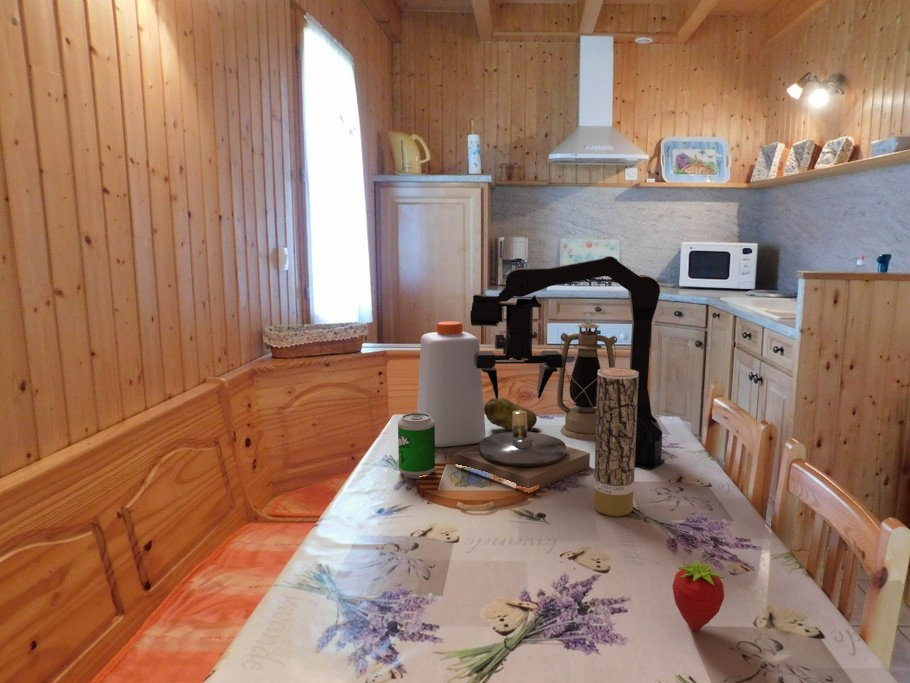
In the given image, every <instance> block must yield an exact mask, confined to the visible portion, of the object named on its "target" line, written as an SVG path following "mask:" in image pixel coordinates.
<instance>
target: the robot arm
mask: <svg viewBox="0 0 910 683" xmlns="http://www.w3.org/2000/svg"><path fill="white" fill-rule="evenodd" d="M601 277H608V278H609V279H611V280H613V281H614V282H615V283H617V284H618V285H620V286H621V287H623V288H624V289H625V290H627V292H628V293H627V294H628V300H629V306H630V314H631V320H632V321H631V337H630V338H631V339H630V352H629V354H630V355H629V369H632V370H635V371H637V372H638V375H639V378H638V401H637V425H636V449H635V467H639V468H642V469H646V470H653V469H655V468H656V467H658V466H661V465H663V464H665V463H666V462H665V461H666V460H665V459H664V458H662V452H663V451H662V450H663V431H662V428H661V425H660V424H659V421H658V419H656V418H655V417H654V416H653V415H652V407H651V406H652V405H651V400H650V394H649V389H648V388H649V387H648V386H649V372H650V356H651V355H650V354H651V353H650V352H651V341H652V340H651V339H652V338H651V337H652V323H653V319H654V316H655V313H656V311H657V306H658V303H659V299H660V295H661V288H660V287H661V286H660V284H659V282H658V281H657V280H656V279H655V278H652V277H651V276H649V275H645V274H637V273H636V272H634V271H632V270H631V269H630V268H628V267H627V266H625V265H624V264H622V263H621V262H619V260H618V259H617V258H616V257H614V256H612V255H611V256H610V255H606V256H604V257H603V258H596V259H592V260H586V261H581V262H575V263H570V264H563V265H559V266H554V267H520V268H519V267H518V268H516V269H514V270H512V271H511V272H509V274H508V275H507V277H506V279H505V287H504V288H503V289H502V290H501V291H499V293H498V295H484V294H478V293H477V294H473V296H472V304H471V310H470V312H469V313H470V324H471V327H499V324H500V323H504V317H505V319H506V320H505V335H504V334H495V335H494V350H500V351H501V350H502V354H495V353H494V352H493V351H492V350H489V351H488V350H487V351H486V350H484V351H483V350H480V351H477V352H476V353H475V356H474V364H475V366H476V368H479V369H481V373H487V376H488V378H489V380H490V384H491V387H492V390H493V394H494V398H496V399H498V398H499V384H498V383H499V382H498V371H497V369H496V365H507V364H508V365H509V364H510V365H514V364H515V365H517V364H521V365H522V364H527V365H528V364H532V365H533V364H534V365H535V364H538V367H539V368H538V369H539V372H538V382H537V388H536V389H537V392H536V395H537V396H536V398H537V399H541V397H542V394H543V392H544V390H545V388H546V385H547V383H548V381H549V380H550V378H551V377H552V375H553V374H554V373H556V372H559V369H560V368H563V367H564V357H563V356H562V353H560V352H559V351H557V350H541V352H540V354H533V337H534V334H533V333H534V332H533V327H534V326H533V325H534V308H541V307H542V306H543V302H542V301H540V300H539V299H538V297H537V295H536V294H535V293H536V292H539V291H541V290H544V289H546V288H548V287H552V286H558V285H562V284H563V285H564V284H567V283H568V284H569V283H573V282H574V283H575V282H579V281H586V280H592V279H596V278H601ZM533 293H534V295H533V296H532V297H531V298H521V297H526V296H528V295H530V294H533ZM514 297H517V299H516V302H508V301H510V300H511V299H513V298H514ZM518 297H519V298H518ZM505 310H506V311H505Z"/></svg>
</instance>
